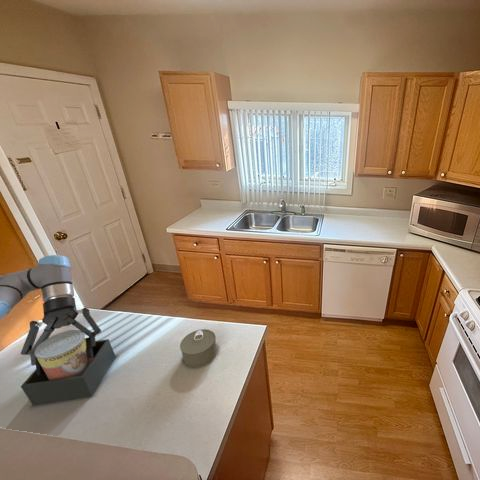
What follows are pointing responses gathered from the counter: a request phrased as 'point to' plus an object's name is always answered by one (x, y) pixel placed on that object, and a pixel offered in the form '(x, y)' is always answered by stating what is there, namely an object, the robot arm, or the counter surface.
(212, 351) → the can
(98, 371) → the open dark gray bin
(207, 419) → the counter surface
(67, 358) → the canned food
